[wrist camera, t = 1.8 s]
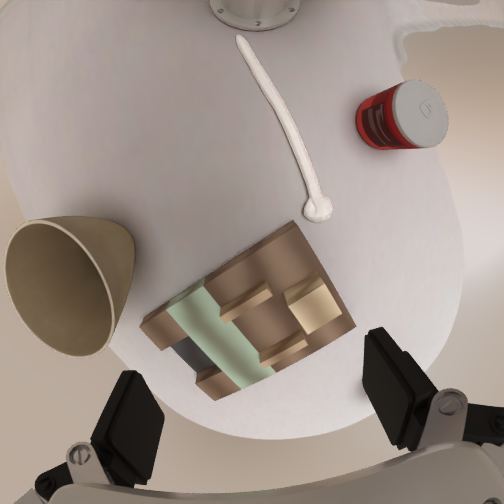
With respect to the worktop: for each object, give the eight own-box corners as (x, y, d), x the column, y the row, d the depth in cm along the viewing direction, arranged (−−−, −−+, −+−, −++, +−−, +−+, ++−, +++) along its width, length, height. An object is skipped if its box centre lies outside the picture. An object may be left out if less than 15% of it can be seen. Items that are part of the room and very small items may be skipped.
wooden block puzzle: (292, 220, 36) (301, 229, 31) (349, 316, 41) (362, 335, 35) (145, 316, 39) (133, 336, 34) (215, 389, 44) (213, 411, 39)
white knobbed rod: (216, 45, 29) (215, 36, 26) (244, 34, 28) (245, 25, 26) (307, 226, 37) (312, 231, 34) (333, 213, 36) (340, 217, 34)
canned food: (407, 116, 32) (455, 106, 21) (389, 160, 34) (437, 162, 23) (366, 86, 31) (407, 64, 20) (345, 132, 33) (385, 121, 22)
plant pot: (58, 222, 34) (-12, 254, 19) (133, 178, 33) (66, 190, 18) (99, 307, 39) (50, 367, 24) (177, 278, 38) (143, 345, 22)
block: (316, 271, 35) (324, 283, 31) (332, 299, 36) (342, 313, 32) (283, 291, 36) (288, 306, 32) (301, 318, 37) (307, 334, 33)
